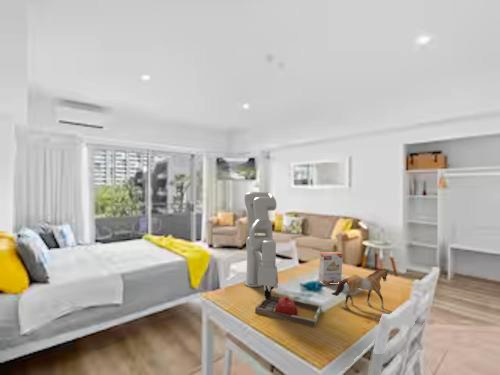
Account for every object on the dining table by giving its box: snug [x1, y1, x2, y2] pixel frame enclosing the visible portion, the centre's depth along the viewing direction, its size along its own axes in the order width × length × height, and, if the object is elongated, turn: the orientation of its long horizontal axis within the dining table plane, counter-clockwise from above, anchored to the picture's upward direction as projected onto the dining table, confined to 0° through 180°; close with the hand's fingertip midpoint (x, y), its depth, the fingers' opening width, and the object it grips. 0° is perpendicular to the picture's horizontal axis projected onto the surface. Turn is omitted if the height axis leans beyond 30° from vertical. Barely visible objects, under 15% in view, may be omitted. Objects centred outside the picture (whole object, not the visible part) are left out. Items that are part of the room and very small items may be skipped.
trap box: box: [255, 294, 322, 328], centre depth 140 cm, size 18×30×3 cm, turn 65°
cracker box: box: [318, 251, 344, 284], centre depth 181 cm, size 14×6×21 cm, turn 105°
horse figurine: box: [331, 268, 389, 309], centre depth 149 cm, size 31×8×21 cm, turn 91°
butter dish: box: [274, 295, 299, 316], centre depth 140 cm, size 12×12×8 cm
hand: (267, 297), depth 145 cm, fingers closed
